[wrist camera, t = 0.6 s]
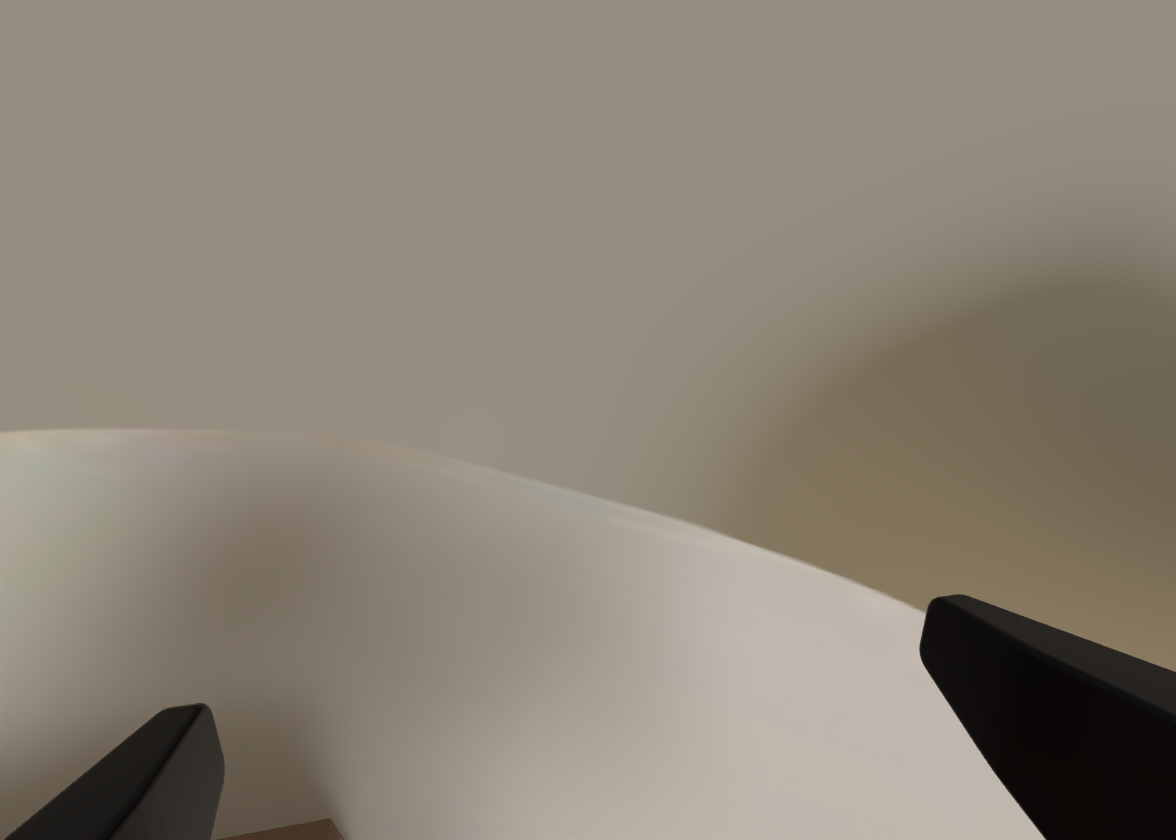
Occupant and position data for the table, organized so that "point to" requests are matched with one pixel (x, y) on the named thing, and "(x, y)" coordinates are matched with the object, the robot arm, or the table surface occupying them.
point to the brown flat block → (296, 832)
